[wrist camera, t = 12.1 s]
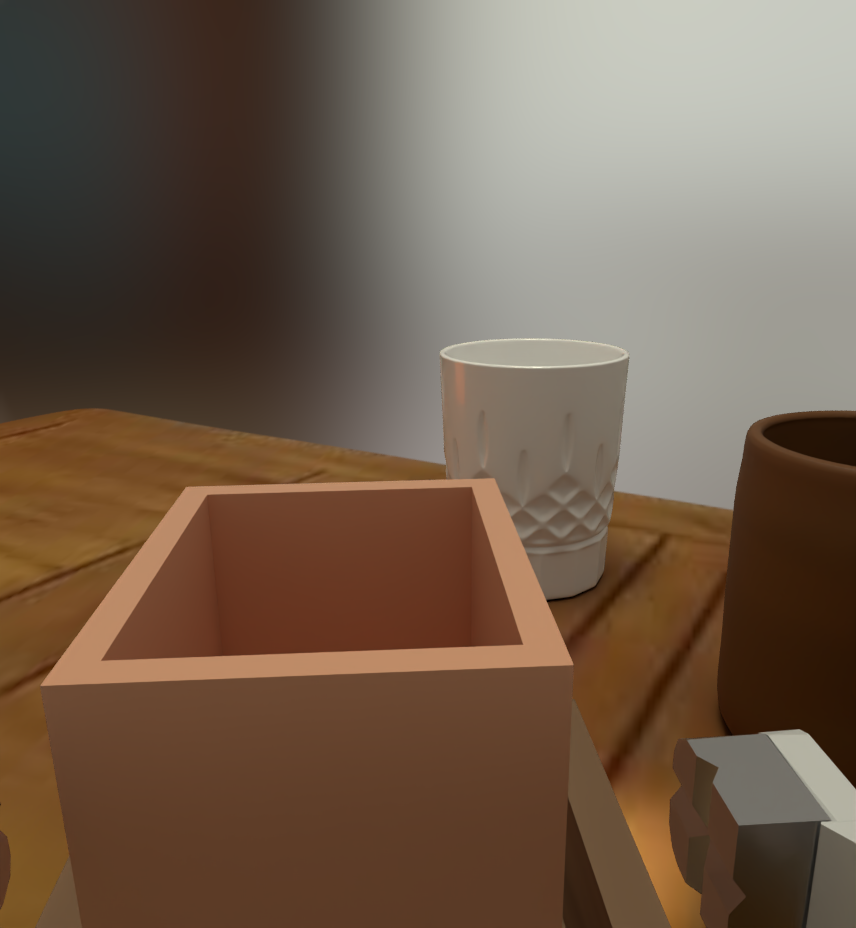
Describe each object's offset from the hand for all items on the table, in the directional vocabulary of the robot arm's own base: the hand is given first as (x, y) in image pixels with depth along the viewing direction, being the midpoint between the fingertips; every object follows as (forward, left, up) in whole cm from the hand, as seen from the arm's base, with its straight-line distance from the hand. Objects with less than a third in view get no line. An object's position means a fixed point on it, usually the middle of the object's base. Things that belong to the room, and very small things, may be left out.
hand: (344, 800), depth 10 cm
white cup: (+7, +26, -9) cm, 28 cm away
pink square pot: (0, +4, -8) cm, 9 cm away
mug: (+14, +11, -9) cm, 19 cm away
